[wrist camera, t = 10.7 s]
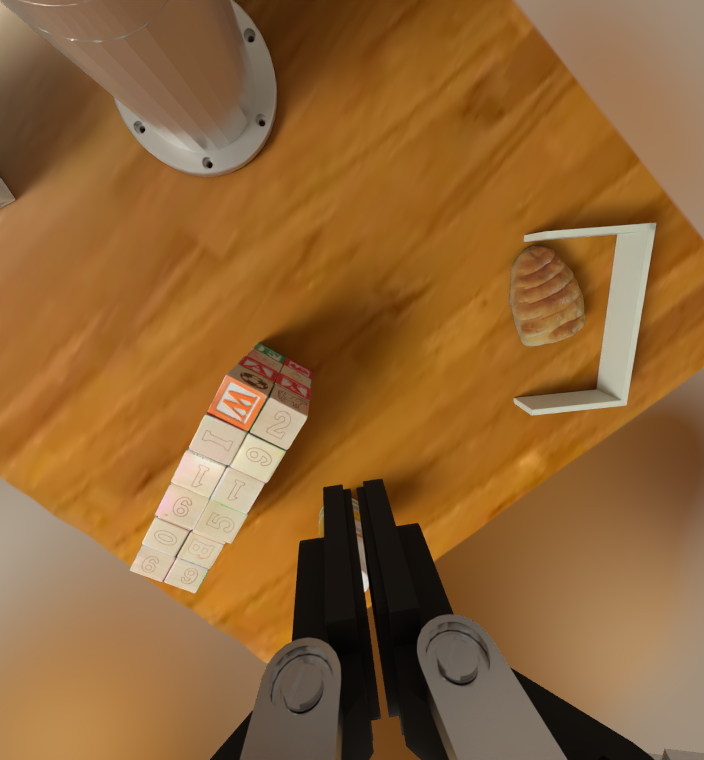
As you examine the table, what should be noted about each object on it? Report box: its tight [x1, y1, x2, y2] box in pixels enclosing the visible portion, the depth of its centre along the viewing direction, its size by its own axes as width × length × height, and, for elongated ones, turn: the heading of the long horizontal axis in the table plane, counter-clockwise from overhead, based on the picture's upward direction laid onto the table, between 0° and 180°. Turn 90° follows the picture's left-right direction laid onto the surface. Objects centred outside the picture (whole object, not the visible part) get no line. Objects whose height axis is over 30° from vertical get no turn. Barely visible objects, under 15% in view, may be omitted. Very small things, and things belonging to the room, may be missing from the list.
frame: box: [514, 223, 656, 415], centre depth 35 cm, size 17×10×4 cm, turn 4°
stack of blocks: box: [130, 343, 313, 593], centre depth 32 cm, size 21×6×12 cm, turn 149°
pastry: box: [509, 246, 586, 346], centre depth 34 cm, size 9×7×4 cm
